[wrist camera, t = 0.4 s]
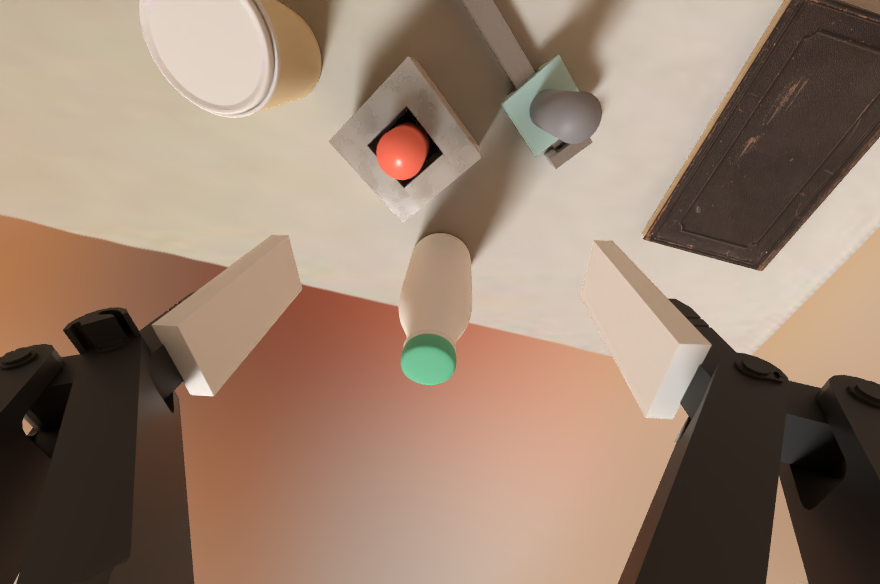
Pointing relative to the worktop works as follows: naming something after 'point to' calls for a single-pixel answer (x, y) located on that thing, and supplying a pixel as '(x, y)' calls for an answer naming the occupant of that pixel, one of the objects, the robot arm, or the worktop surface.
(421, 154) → the button
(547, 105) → the carriage
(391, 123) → the grey block with hole
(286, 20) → the coffee cup
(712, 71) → the worktop surface
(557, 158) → the rail
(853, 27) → the hardcover book
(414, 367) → the milk bottle
